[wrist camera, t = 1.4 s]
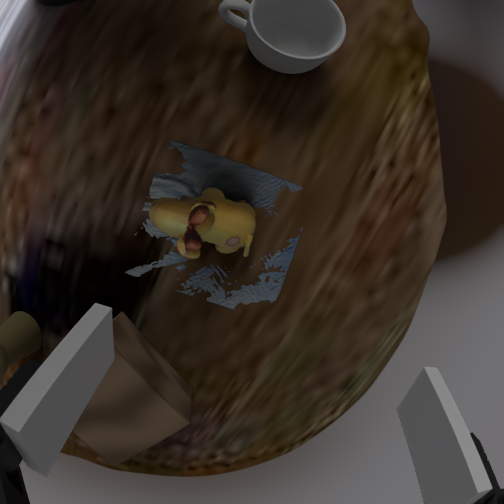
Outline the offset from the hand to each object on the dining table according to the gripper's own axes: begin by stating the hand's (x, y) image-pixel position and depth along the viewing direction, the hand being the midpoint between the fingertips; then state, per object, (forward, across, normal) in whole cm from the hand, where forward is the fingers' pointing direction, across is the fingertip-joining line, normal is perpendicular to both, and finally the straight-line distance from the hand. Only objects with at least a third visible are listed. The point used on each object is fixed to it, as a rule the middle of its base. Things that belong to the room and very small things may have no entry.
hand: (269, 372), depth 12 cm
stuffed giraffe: (+25, -6, -4) cm, 26 cm away
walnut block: (+18, -14, -23) cm, 32 cm away
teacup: (+32, -4, +20) cm, 38 cm away
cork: (+16, -29, -20) cm, 39 cm away
